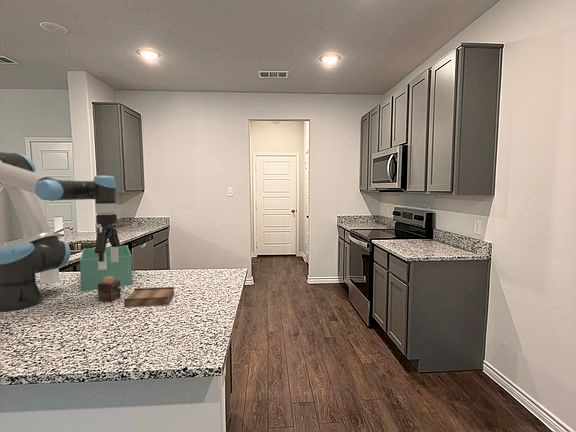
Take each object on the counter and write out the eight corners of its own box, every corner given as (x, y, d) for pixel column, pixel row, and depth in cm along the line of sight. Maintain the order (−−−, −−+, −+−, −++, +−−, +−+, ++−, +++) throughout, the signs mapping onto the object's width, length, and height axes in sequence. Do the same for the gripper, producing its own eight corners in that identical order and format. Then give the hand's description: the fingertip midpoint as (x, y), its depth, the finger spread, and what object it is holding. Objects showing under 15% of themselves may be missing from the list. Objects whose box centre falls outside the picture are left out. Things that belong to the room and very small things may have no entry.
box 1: (127, 271, 184) (127, 245, 182) (132, 285, 156) (131, 255, 155) (84, 275, 173) (83, 248, 172) (81, 291, 146) (79, 259, 145)
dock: (124, 307, 126) (124, 299, 126) (134, 295, 140) (134, 288, 139) (167, 304, 129) (167, 297, 128) (173, 293, 142) (173, 286, 142)
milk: (54, 283, 158) (52, 238, 156) (39, 284, 156) (37, 238, 155) (59, 279, 164) (57, 236, 162) (45, 280, 162) (43, 236, 160)
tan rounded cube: (103, 283, 133) (103, 278, 133) (106, 281, 136) (106, 276, 136) (111, 282, 133) (110, 278, 133) (113, 280, 136) (113, 276, 136)
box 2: (110, 302, 132) (110, 284, 131) (97, 301, 133) (97, 283, 132) (121, 297, 138) (120, 280, 137) (108, 296, 139) (108, 279, 138)
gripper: (104, 215, 121) (107, 272, 122) (126, 212, 145) (128, 259, 147) (82, 216, 120) (85, 273, 121) (107, 212, 144) (110, 259, 146)
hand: (109, 265), depth 134 cm, fingers open, 13 cm apart
